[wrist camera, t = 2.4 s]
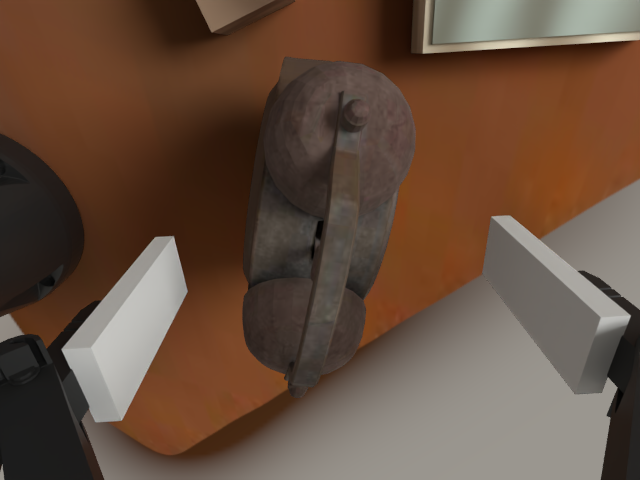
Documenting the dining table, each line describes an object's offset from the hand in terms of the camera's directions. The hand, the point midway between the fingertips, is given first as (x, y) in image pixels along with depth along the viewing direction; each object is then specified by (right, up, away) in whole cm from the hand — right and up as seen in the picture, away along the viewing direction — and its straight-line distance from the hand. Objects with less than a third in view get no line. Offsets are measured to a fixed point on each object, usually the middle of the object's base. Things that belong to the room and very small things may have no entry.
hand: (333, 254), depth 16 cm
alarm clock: (-1, +7, +14) cm, 16 cm away
